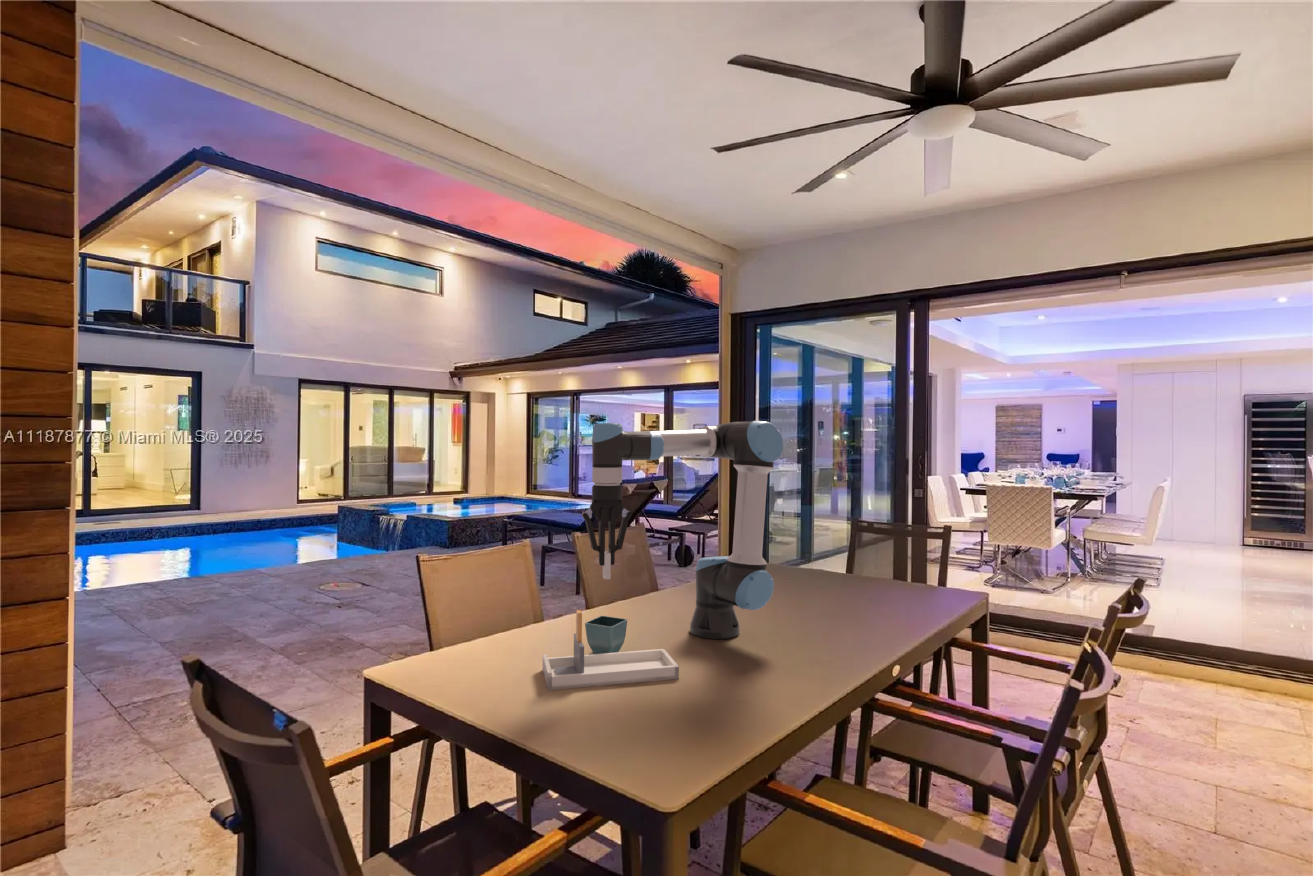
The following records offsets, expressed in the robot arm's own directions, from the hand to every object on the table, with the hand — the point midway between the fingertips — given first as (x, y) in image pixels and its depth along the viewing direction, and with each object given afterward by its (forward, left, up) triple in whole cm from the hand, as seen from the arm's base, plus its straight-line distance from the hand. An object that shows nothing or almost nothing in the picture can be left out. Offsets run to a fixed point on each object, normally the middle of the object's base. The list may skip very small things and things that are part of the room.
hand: (606, 578), depth 162 cm
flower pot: (-3, -15, -24) cm, 29 cm away
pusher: (+9, +1, -23) cm, 25 cm away
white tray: (-1, +1, -24) cm, 24 cm away
